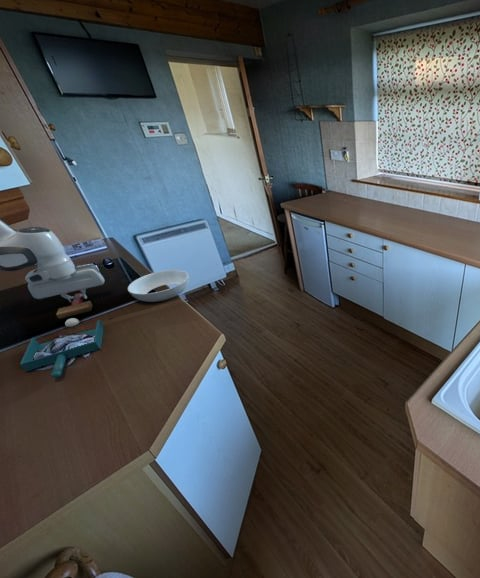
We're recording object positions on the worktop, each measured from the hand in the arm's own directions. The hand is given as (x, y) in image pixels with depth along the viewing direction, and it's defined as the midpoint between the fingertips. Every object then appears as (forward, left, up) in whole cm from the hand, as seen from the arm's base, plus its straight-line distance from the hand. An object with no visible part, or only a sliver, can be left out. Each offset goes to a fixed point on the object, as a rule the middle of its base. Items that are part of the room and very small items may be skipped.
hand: (78, 300), depth 117 cm
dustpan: (0, -36, -2) cm, 36 cm away
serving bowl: (+28, -11, -2) cm, 30 cm away
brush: (0, -4, -2) cm, 5 cm away
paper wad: (0, -18, -2) cm, 18 cm away
